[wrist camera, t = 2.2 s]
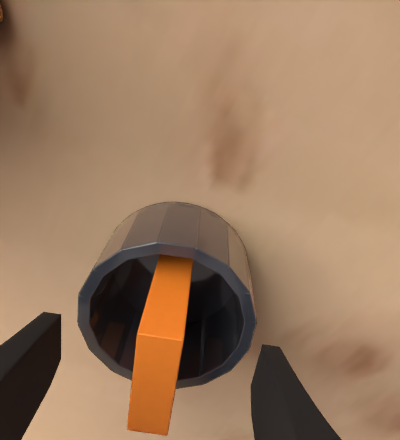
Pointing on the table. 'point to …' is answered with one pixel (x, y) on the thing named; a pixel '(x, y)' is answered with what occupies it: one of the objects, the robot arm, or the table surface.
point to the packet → (160, 346)
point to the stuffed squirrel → (1, 14)
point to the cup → (198, 296)
